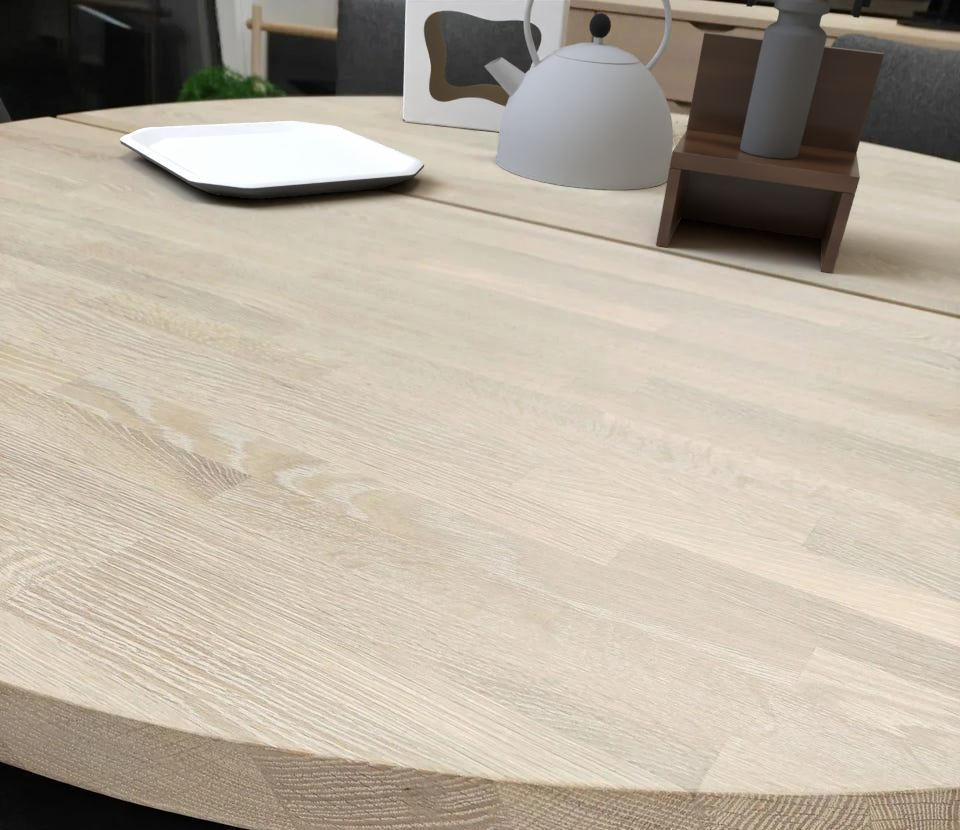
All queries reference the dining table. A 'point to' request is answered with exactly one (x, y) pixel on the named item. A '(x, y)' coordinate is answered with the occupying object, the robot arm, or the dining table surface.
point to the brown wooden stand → (768, 181)
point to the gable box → (428, 57)
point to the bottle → (785, 79)
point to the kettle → (586, 114)
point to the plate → (272, 158)
